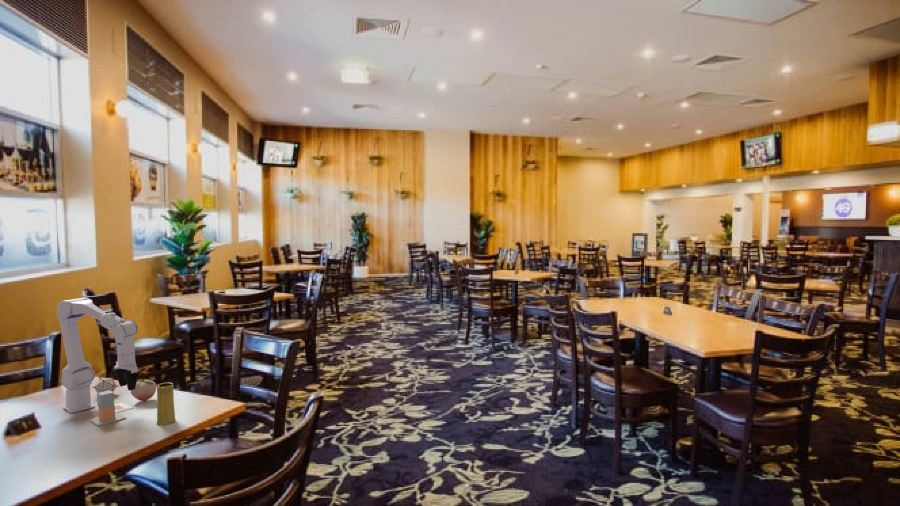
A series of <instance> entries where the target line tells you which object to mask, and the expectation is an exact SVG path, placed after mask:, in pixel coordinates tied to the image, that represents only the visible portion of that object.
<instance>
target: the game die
mask: <svg viewBox="0 0 900 506" xmlns="http://www.w3.org/2000/svg"><path fill="white" fill-rule="evenodd" d="M98 379H99V380H98V381H97V382H96V385H95V386H92V387H91V388H94V389H95V391H96V394H97V393H100V392H104V391H108V390H110V391H112V392H114V391H115V390H116V388H117V387H119V385H117V384H116V381H115V380H114V375H113V376H112V377H105V378H104V377H103V378H101V377H99V378H98Z"/></svg>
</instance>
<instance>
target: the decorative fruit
mask: <svg viewBox="0 0 900 506" xmlns="http://www.w3.org/2000/svg"><path fill="white" fill-rule="evenodd" d="M156 393H157V384H156V382H155V381H153V380H151V379H145V378H144V377H142V379H137V383H136V387H135V389H134V390H130V395H131V396H132V397H133V398H135V399H136V400H138V401H141V402H146V401H148V400H150V399H151V398H152V397H153V396H154V395H155V394H156Z"/></svg>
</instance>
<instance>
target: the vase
mask: <svg viewBox="0 0 900 506" xmlns="http://www.w3.org/2000/svg"><path fill="white" fill-rule="evenodd" d="M174 393H175V392H174V383H173V382H163V383H159V384H156V398H157V403H156V408H157V409H156V425H157V426H167V425H171V424H174V423H175V422H176V412H175V411H176V410H175V402H174V401H175V400H174Z"/></svg>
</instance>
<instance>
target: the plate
mask: <svg viewBox="0 0 900 506" xmlns="http://www.w3.org/2000/svg"><path fill="white" fill-rule="evenodd" d="M126 419H127V417H126V416H124V415H122V414H120V412H118V413H117V412H115V418H114V419H111V420H107V421H101V420H100V419H99V416H97V417H94V418H89V422H90V423H91V424H94V425H96V426H97V427H102V426H105V425H109V424H112V423H116V422H119V421H120V422H121V421H123V420H126Z"/></svg>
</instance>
